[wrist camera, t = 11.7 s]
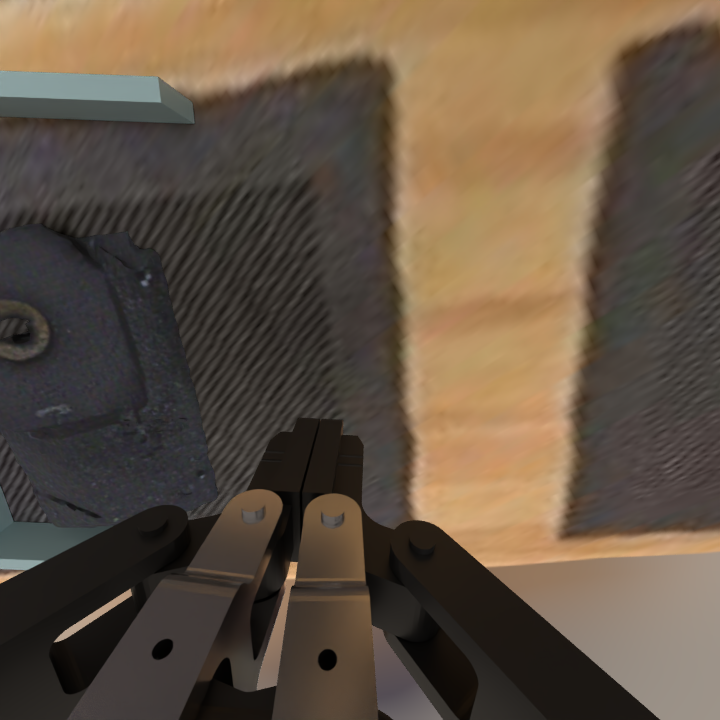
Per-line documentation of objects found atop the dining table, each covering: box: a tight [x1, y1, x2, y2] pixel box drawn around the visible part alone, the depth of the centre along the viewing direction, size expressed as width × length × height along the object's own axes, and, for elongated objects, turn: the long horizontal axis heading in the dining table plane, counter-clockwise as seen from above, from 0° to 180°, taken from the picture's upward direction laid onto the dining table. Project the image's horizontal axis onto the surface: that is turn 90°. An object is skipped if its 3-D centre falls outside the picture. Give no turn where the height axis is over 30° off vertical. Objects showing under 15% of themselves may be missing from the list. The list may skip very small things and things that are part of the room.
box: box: [0, 71, 195, 570], centre depth 23 cm, size 31×20×4 cm, turn 178°
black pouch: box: [0, 224, 218, 528], centre depth 24 cm, size 15×22×5 cm
